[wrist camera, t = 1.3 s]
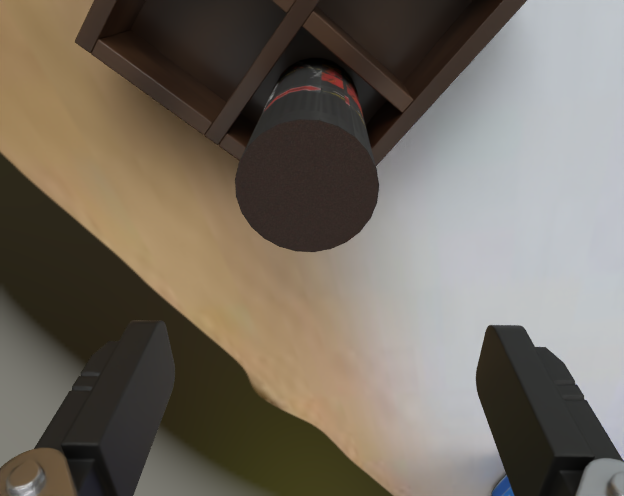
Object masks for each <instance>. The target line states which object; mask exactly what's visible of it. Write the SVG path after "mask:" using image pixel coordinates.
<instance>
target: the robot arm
mask: <svg viewBox="0 0 624 496" xmlns="http://www.w3.org/2000/svg"><path fill="white" fill-rule="evenodd" d="M174 379H175V366H174V361H173V356H172V351H171V347H170V343H169V338H168V333H167V329H166V326H165V323H164V322H163V321H143V320H139V321H138V320H133V321H131V322H130V323H129V324H128V326H127V327H126V330H125V331H124V333H123V335H122V336H121V338H120V340H119V341H108V342H107V343H106V344H105V345H104V346H102V347H101V348H100V349H99V350H98V351H96V352H95V353H94V354H93V355H92V356H91V357H90V359H89V360H88V362H87V364H86V365H85V367H84V369H83V370H82V372H81V376H79V377H78V379H77V380H76V382H75V383H74V385H73V386H72V391H69V393H68V395H67V396H66V398H65V399H64V401H63V403H62V404H61V406H60V408H59V409H58V411H57V412H56V414H55V416H54V417H53V419H52V421H51V422H50V424H49V425H48V427H47V429H46V430H45V432H44V434H43V435H42V437H41V439H40V440H39V442H38V443H37V445H36V446H35V448H34V449H32V450H29V451H26V452H24V453H21V454H19V455H18V456H16V457H14V458H12V459H11V460H9V461H8V462H7V463H5V464H4V465H3V466H2V467H1V468H0V496H133V495H134V492H135V489H136V486H137V484H138V481H139V479H140V476H141V473H142V470H143V468H144V465H145V462H146V460H147V457H148V454H149V452H150V449H151V446H152V443H153V441H154V438H155V435H156V433H157V430H158V427H159V425H160V422H161V419H162V416H163V414H164V411H165V408H166V406H167V403H168V400H169V398H170V395H171V392H172V389H173V385H174ZM476 386H477V392H478V396H479V399H480V401H481V404H482V407H483V410H484V413H485V415H486V418H487V421H488V424H489V427H490V429H491V432H492V435H493V438H494V441H495V443H496V446H497V449H498V452H499V455H500V457H501V460H502V463H503V466H504V469H505V471H506V474H507V477H508V480H509V483H510V485H511V488H512V491H513V494H514V496H624V461H623V459H622V458H621V456H620V455H619V453H618V451H617V450H616V448H615V446H614V445H613V443H612V442H611V440H610V438H609V437H608V435H607V433H606V432H605V430H604V428H603V427H602V425H601V423H600V422H599V420H598V418H597V417H596V415H595V413H594V412H593V410H592V409H591V407H590V405H589V404H588V402H587V400H584V395H583V394H582V392H581V390H580V389H579V387H578V385H575V381H574V379H573V377H572V376H571V374H570V372H569V371H568V369H567V367H566V366H565V364H564V363H563V362H562V361H561V360H560V359H559V358H557V357H556V356H555V355H554V354H553V353H552V352H551V351H549V350H548V349H547V348H546V347H535V346H534V344H533V343H532V341H531V339H530V337H529V335H528V334H527V332H526V330H525V329H524V328H523V327H522V326H516V325H489V326H488V327H487V329H486V332H485V337H484V341H483V345H482V349H481V353H480V358H479V362H478V366H477V371H476Z"/></svg>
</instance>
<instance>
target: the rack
mask: <svg viewBox="0 0 624 496" xmlns="http://www.w3.org/2000/svg"><path fill="white" fill-rule="evenodd" d="M526 1H527V0H94V2H93V4H92V6H91V8H90V10H89V12H88V14H87V17H86V19H85V21H84V23H83V25H82V27H81V29H80V31H79V33H78V36H77V38H76V40H75V43H77V44H78V45H79V46H81V47H82V48H84V49H85V50H86V51H88V52H89V53H91V54H92V55H93V56H95V57H96V58H97V59H99V60H100V61H102V62H103V63H104V64H106V65H107V66H109V67H110V68H111V69H113V70H114V71H115V72H117V73H118V74H120V75H121V76H122V77H124V78H125V79H127V80H128V81H129V82H131V83H132V84H134V85H135V86H136V87H138V88H139V89H141V90H142V91H143V92H145V93H146V94H147V95H149V96H150V97H152V98H153V99H154V100H156V101H157V102H159V103H160V104H161V105H163V106H164V107H166V108H167V109H168V110H170V111H171V112H172V113H174V114H175V115H177V116H178V117H179V118H181V119H182V120H184V121H185V122H186V123H188V124H189V125H191V126H192V127H193V128H195V129H196V130H198V131H199V132H200V133H202V134H203V135H205V136H206V137H207V138H209V139H210V140H211V141H213V142H214V143H216V144H217V145H219V146H220V147H221V148H223V149H224V150H226V151H227V152H228V153H230V154H231V155H232V156H234V157H235V158H237V159H238V160H239V161H240V159H241V157H242V155H243V153H244V151H245V148H246V146H247V144H248V142H249V140H250V138H251V136H252V134H253V131H254V129H255V127H256V125H257V123H258V121H259V119H260V116H261V114H262V112H263V110H264V108H265V106H266V104H267V101H268V99H269V97H270V95H271V93H272V91H273V89H274V87H275V84H276V83H277V81H278V79H279V77H280V76H281V74H282V73H283V72H284V71H285V70H286V69H287V68H288V67H289V66H291V65H293V64H294V63H296V62H298V61H300V60H304V59H308V58H323V59H326V60H329V61H332V62H334V63H336V64H337V65H339V66H340V67H342V68H343V69H344V70H345V71H346V72H347V73H348V75H349V76H350V77H351V78H352V81H353V83H354V85H355V87H356V90H357V94H358V98H359V102H360V106H361V110H362V114H363V118H364V122H365V126H366V130H367V134H368V138H369V142H370V146H371V150H372V153H373V157H374V161H375V165H376V166H377V165H378V163H379V162H380V161H381V160H382V159H383V158H384V157H385V156H386V155H387V154H388V152H389V151H390V150H391V149H392V148H393V147H394V146H395V145H396V144H397V143H398V141H399V140H400V139H401V138H402V137H403V136H404V135H405V134H406V133H407V132H408V131H409V129H410V128H411V127H412V126H413V125H414V124H415V123H416V122H417V121H418V120H419V118H420V117H421V116H422V115H423V114H424V113H425V112H426V111H427V110H428V109H429V107H430V106H431V105H432V104H433V103H434V102H435V101H436V100H437V99H438V98H439V96H440V95H441V94H442V93H443V92H444V91H445V90H446V89H447V88H448V87H449V86H450V84H451V83H452V82H453V81H454V80H455V79H456V78H457V77H458V76H459V75H460V73H461V72H462V71H463V70H464V69H465V68H466V67H467V66H468V65H469V64H470V62H471V61H472V60H473V59H474V58H475V57H476V56H477V55H478V54H479V53H480V51H481V50H482V49H483V48H484V47H485V46H486V45H487V44H488V43H489V42H490V41H491V39H492V38H493V37H494V36H495V35H496V34H497V33H498V32H499V31H500V30H501V28H502V27H503V26H504V25H505V24H506V23H507V22H508V21H509V20H510V19H511V17H512V16H513V15H514V14H515V13H516V12H517V11H518V10H519V9H520V8H521V6H522V5H523V4H524V3H525V2H526Z"/></svg>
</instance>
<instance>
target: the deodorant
mask: <svg viewBox="0 0 624 496" xmlns="http://www.w3.org/2000/svg"><path fill="white" fill-rule="evenodd" d="M235 184H236V197H237V200H238V203H239V206H240V209H241V212H242V214H243V215H244V217H245V218H246V220H247V221H248V223H249V224H250V226H251V227H252V228H253V229H254V230H255V231H257V232H258V233H259V234H260V235H261V236H262V237H263V238H265V239H266V240H268V241H270V242H272V243H274V244H276V245H277V246H279V247H283V248H286V249H290V250H294V251H302V252H316V251H322V250H327V249H332V248H334V247H336V246H338V245H341V244H343V243H345V242H347V241H348V240H350V239H351V238H352V237H354V236H355V235H356V234H358V233H359V232H360V231H361V230H362V229H363V227H364V226H365V225H366V223H367V222H368V221H369V220H370V218H371V216H372V214H373V211H374V209H375V206H376V204H377V199H378V190H379V182H378V176H377V170H376V165H375V161H374V157H373V153H372V150H371V146H370V142H369V138H368V134H367V130H366V126H365V122H364V118H363V114H362V110H361V106H360V102H359V98H358V94H357V90H356V87H355V85H354V83H353V81H352V78H351V77H350V76H349V75H348V73H347V72H346V71H345V70H344V69H343V68H342V67H340V66H339V65H337V64H336V63H334V62H332V61H329V60H326V59H323V58H308V59H304V60H300V61H298V62H296V63H294V64H293V65H291V66H289V67H288V68H287V69H286V70H285V71H284V72H283V73H282V74H281V76H280V77H279V79H278V81H277V83H276V84H275V87H274V89H273V91H272V93H271V95H270V97H269V99H268V101H267V104H266V106H265V108H264V110H263V112H262V114H261V116H260V119H259V121H258V123H257V125H256V127H255V129H254V131H253V134H252V136H251V138H250V140H249V142H248V144H247V146H246V148H245V151H244V153H243V155H242V157H241V159H240V161H239V165H238V169H237V174H236V178H235Z"/></svg>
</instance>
